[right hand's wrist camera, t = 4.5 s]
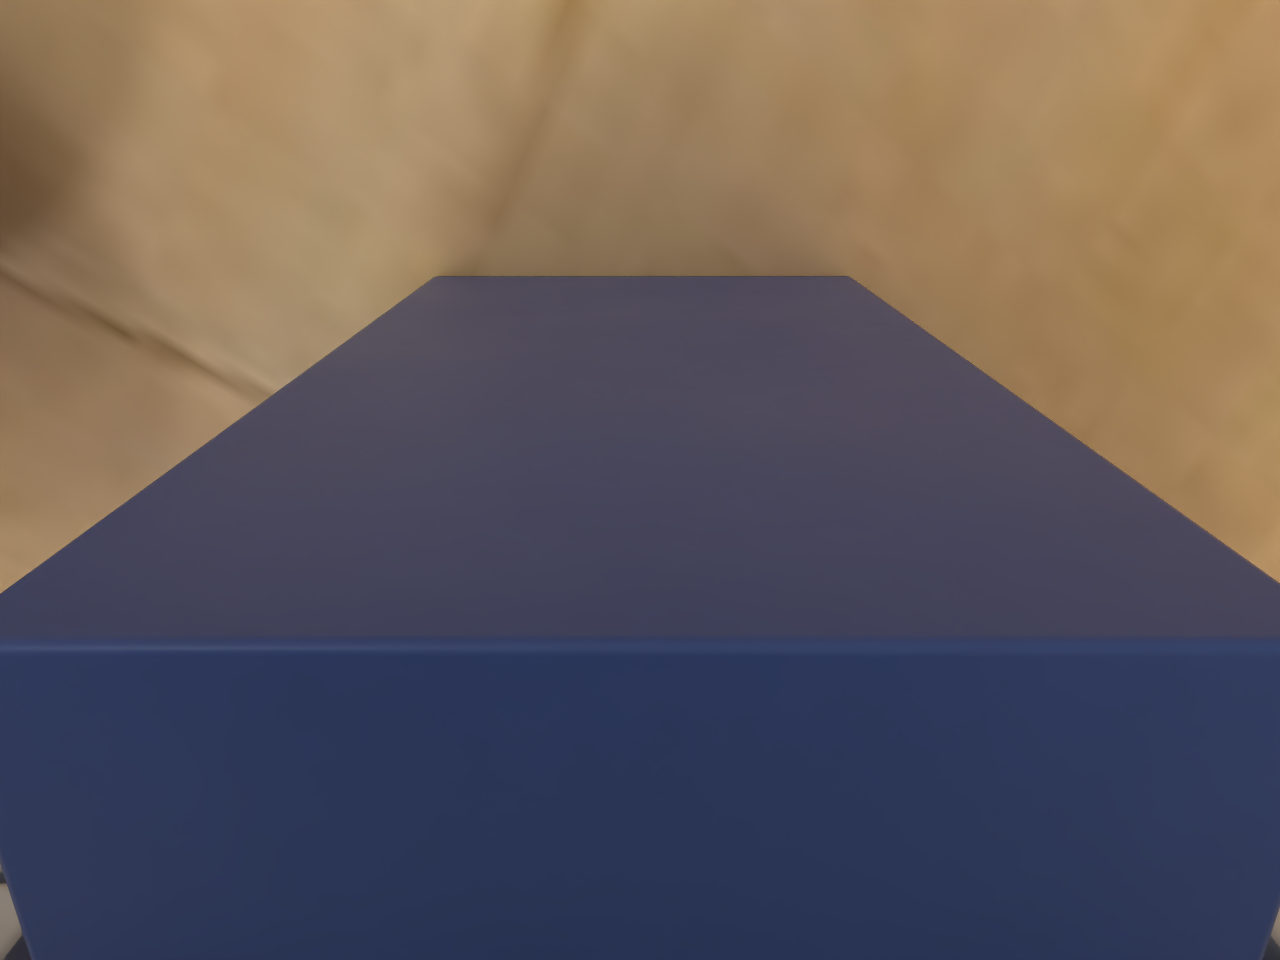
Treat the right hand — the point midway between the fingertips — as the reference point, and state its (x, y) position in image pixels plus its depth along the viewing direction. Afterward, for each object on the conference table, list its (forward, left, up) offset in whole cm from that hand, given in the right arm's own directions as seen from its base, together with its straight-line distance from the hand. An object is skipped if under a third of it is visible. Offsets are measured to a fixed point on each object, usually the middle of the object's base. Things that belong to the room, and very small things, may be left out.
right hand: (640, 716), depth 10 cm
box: (+9, 0, -6) cm, 10 cm away
